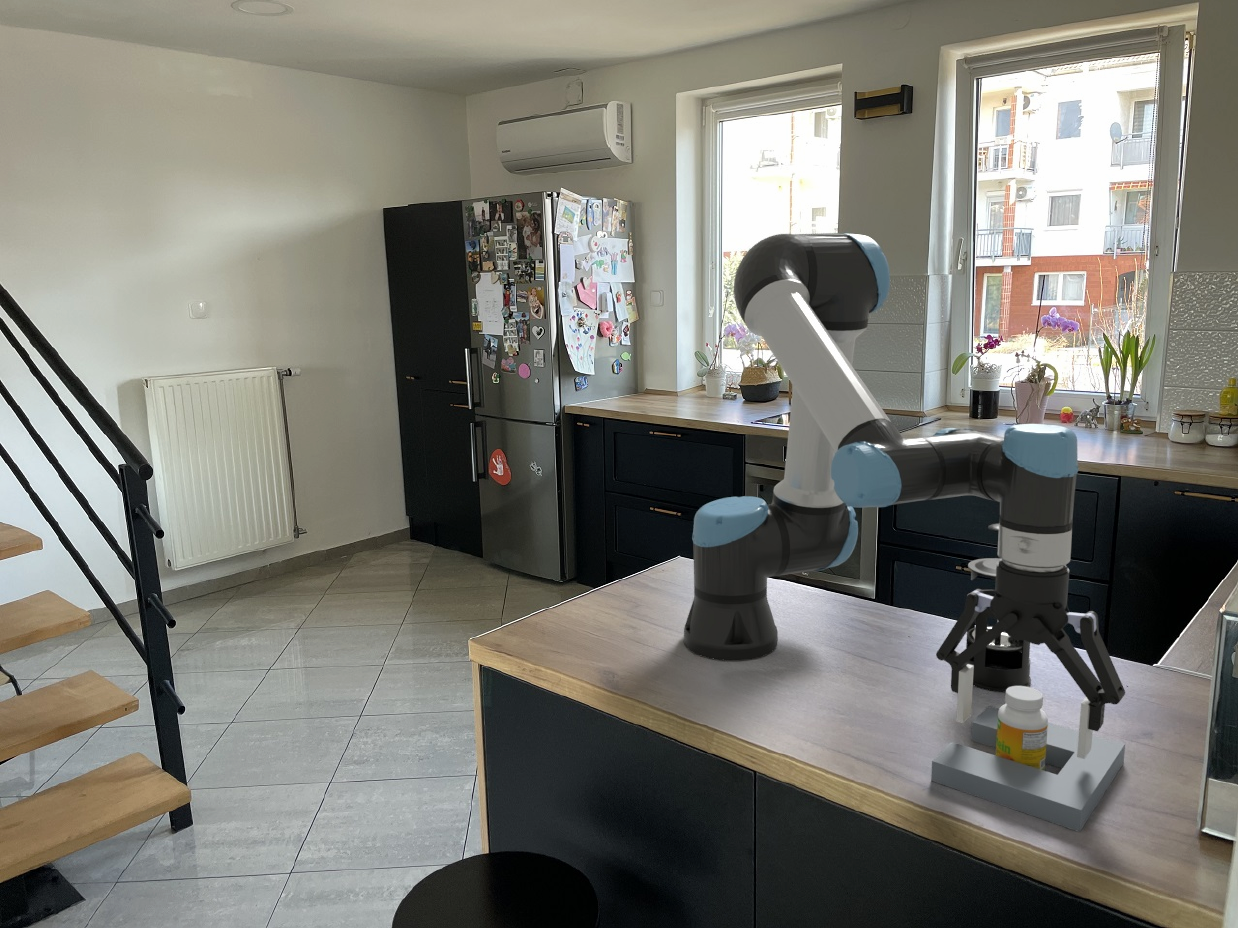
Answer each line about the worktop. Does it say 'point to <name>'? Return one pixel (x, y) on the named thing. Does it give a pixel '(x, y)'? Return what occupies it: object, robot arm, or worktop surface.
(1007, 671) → the french press
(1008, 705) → the supplement bottle
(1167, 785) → the worktop surface
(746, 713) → the worktop surface
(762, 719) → the worktop surface
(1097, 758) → the notched board
